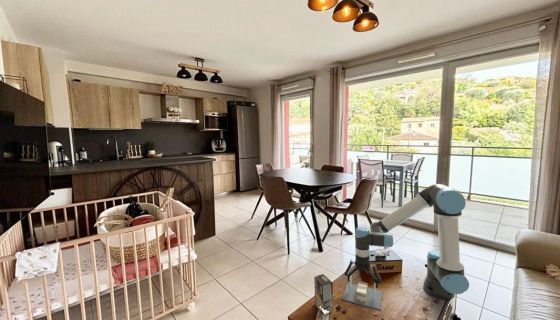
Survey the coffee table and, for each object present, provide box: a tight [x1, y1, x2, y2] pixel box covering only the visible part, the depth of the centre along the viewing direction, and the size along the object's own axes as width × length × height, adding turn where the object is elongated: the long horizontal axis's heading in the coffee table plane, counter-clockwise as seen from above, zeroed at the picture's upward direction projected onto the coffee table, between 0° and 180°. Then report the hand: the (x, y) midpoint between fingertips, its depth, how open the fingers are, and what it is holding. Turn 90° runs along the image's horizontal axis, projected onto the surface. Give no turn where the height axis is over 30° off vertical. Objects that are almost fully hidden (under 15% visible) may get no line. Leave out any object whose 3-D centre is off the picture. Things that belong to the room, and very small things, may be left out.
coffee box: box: [313, 273, 334, 313], centre depth 123 cm, size 9×6×16 cm
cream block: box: [357, 281, 369, 301], centre depth 132 cm, size 10×5×4 cm, turn 154°
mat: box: [341, 282, 383, 311], centre depth 132 cm, size 20×16×1 cm
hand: (362, 290), depth 132 cm, fingers open, 13 cm apart
